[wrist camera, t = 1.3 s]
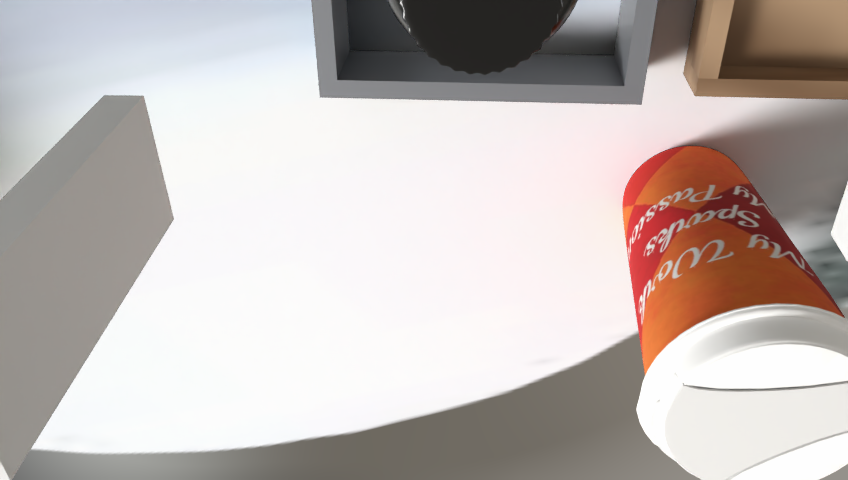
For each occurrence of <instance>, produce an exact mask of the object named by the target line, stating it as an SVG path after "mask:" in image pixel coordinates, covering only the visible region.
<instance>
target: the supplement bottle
mask: <svg viewBox="0 0 848 480" xmlns="http://www.w3.org/2000/svg"><path fill="white" fill-rule="evenodd" d="M577 1H578V0H388V3H389V5H390V7H391V9H392V11H393V13H394V15H395V16H396V18H397V20H398V21H399V22H400V24H401V25H402V26H403V28H404V29H405V30H406V31H407V32H408V33H409V34H410V36H412V37H413V38H414V39H415V40H416V44H417V46H419V47H420V48H422V49H424V50H425V52H426V54H427V55H428V57H431V58H433V59H436V60H437V61H438V63H439V64H440V65H443V66H449V67H450V68H451V69H453V70H454V71H464V72H466V73H468V74H475V73H480V74H483V75H486V74H489V73H491V72H499V73H500V72H502V71H504V70H505V69H506V68H514V67H516V66H517V65H518V64H519V63H520V62H521V61H525V60H528V59H529V58H530V57H531V55H532V53H534V52H536V51H538V50H540V49H541V46H542V44H544V43H545V42H546V41H547V40H549V39H550V38H551V37H552V36H553V35H554V34H555V33H556V32H557V31H558V30H559V29H560V28H561V26H562V25H563V24H564V23H565V21H566V20H567V18H568V17H569V16H570V14H571V12H572V10H573V9H574V7H575V5H576V3H577Z"/></svg>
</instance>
